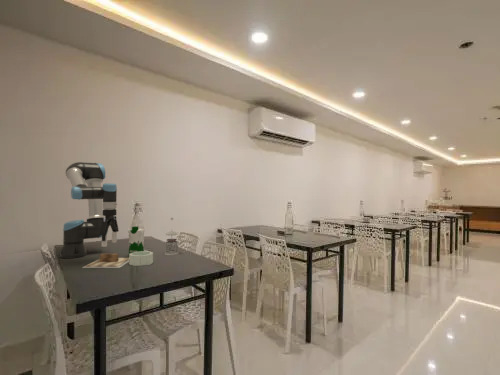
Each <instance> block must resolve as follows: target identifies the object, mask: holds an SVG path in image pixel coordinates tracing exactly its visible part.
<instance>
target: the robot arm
mask: <svg viewBox="0 0 500 375" xmlns="http://www.w3.org/2000/svg"><path fill="white" fill-rule="evenodd" d="M65 176H66V178H67V179H68V180H69V182H70V184H71V189H70V197H71V199H72V200H78V201H79V200H87V201H88V217H87V219H86V221H85V220H84V219H76V220H71V221H67V222H64V224H63V228H62V231H63V232H62V233H63V236H62V238H63V240H62V242H63V245H62V248H61V249H60V253H59V258H61V259H74V258H75V259H76V258H83V257H85V256H86V255H87V254H88V253H87V249H86V246H85V243H84V242H85V241H84V240H88V239H100V238H101V247H103V248H105V247H108V235H107V234H108V232H109V228H111V231H112V232H111V243H114V244H115V243H117V242H118V232H119V226H118V221H117V205H118V203H117V195H118V194H117V192H118V191H117V190H118V189H117V184H116V183H109V182H108V183H103V182H104V180H105V178H106V168H105V166H104V164H102V163H99V162H98V163H97V162H83V161H79V162H77V161H76V162H73V163H72V164H69V165H68V167H67V168H66V169H65ZM102 183H103V184H102Z"/></svg>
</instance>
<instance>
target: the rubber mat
mask: <svg viewBox="0 0 500 375" xmlns="http://www.w3.org/2000/svg"><path fill="white" fill-rule="evenodd" d="M127 263H129V260H128V261H126V262H125V263H123V264H122V265H120V266H119V267H86V265H85V266H82V267H81V268H82V269H83V268H84V269H87V268H88V269H90V268H91V269H92V268H94V269H95V268H97V269H100V268H101V269H103V268H105V269H108V268H109V269H110V268H111V269H112V268H113V269H115V268H118V269H119V268H120V269H121V267H124V266H125V265H126V264H127Z"/></svg>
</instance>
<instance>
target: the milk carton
mask: <svg viewBox="0 0 500 375" xmlns="http://www.w3.org/2000/svg"><path fill="white" fill-rule="evenodd" d="M145 230H146V229H145V228H139V226H131V229H127V232H128V255H129V254H130V253H133V252H139V251H145V248H144V245H145V241H144V240H145Z"/></svg>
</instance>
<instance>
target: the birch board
mask: <svg viewBox="0 0 500 375" xmlns="http://www.w3.org/2000/svg"><path fill="white" fill-rule="evenodd" d="M119 254H120V253H100V254H99V258H98V259H96V260H94V261H93V262H90V263H88V264H86V265H85V266H86V267H119V266H120V265H122V264H123V263H125V262H126V261H128V260H129V257H119Z"/></svg>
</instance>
